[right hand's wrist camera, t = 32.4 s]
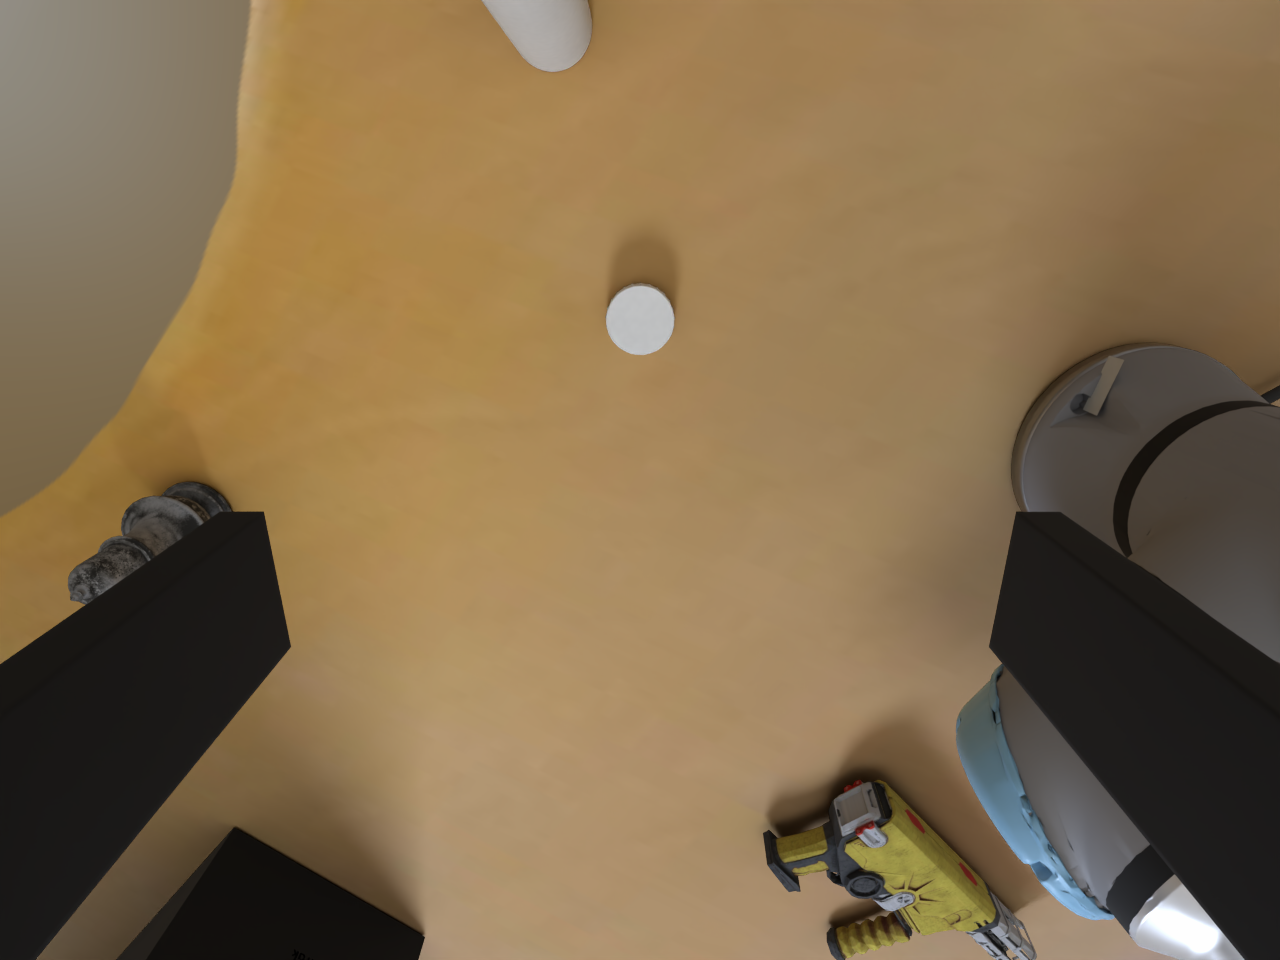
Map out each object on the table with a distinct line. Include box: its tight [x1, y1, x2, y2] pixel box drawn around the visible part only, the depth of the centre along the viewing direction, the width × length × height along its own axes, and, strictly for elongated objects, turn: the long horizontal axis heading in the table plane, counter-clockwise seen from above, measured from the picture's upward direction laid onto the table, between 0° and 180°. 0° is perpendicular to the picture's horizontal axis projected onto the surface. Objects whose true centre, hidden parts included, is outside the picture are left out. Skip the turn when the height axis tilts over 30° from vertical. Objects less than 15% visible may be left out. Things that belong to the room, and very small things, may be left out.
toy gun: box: [763, 780, 1037, 960], centre depth 62 cm, size 5×24×15 cm
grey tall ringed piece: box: [68, 482, 232, 605], centre depth 45 cm, size 6×6×12 cm
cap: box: [606, 282, 675, 355], centre depth 45 cm, size 4×4×2 cm
